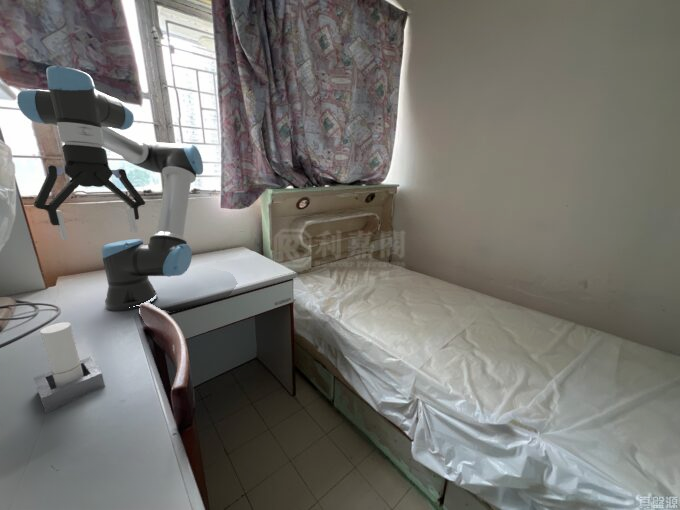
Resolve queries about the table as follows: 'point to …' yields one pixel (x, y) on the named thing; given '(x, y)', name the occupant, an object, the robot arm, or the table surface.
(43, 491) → the table surface
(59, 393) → the gray square frame
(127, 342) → the table surface
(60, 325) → the tube
